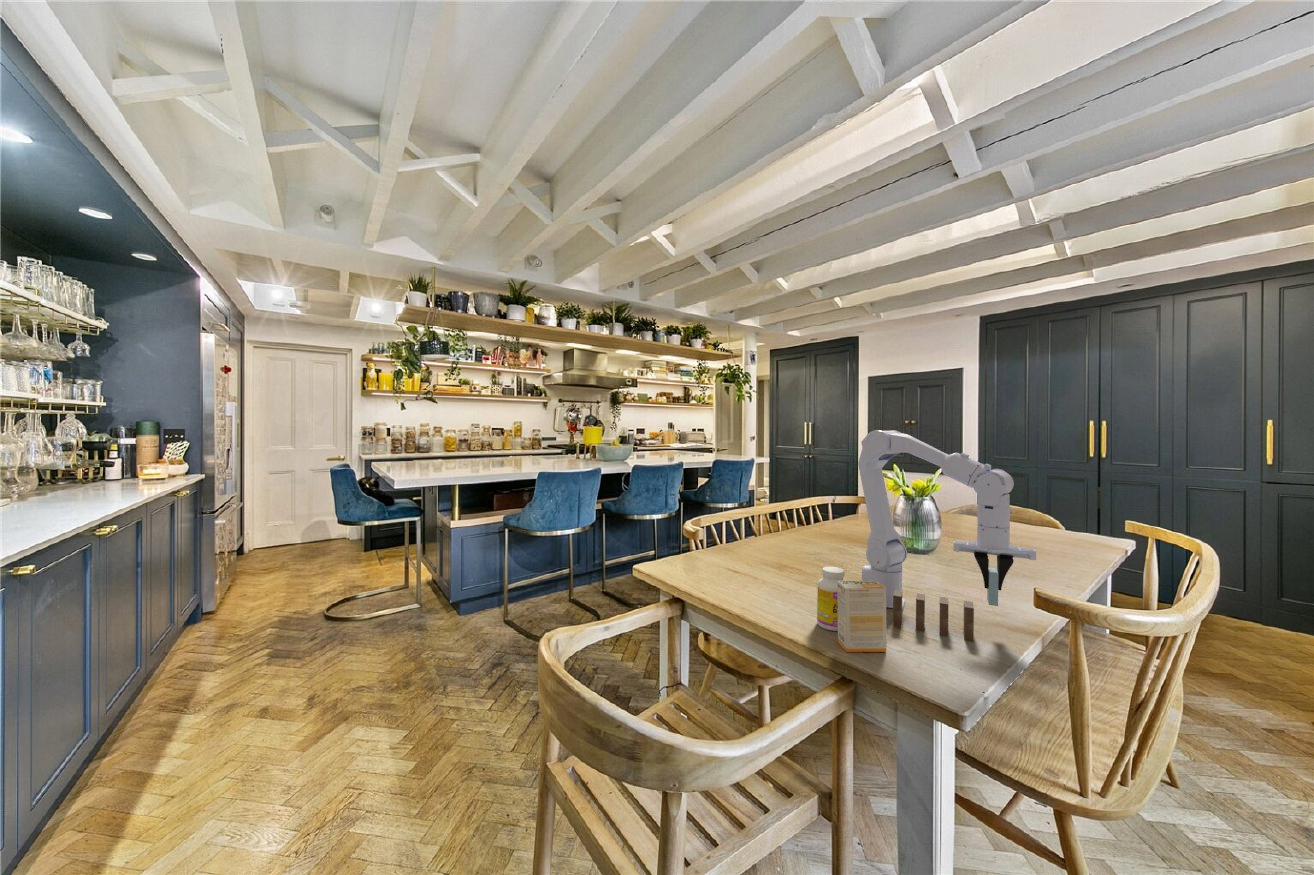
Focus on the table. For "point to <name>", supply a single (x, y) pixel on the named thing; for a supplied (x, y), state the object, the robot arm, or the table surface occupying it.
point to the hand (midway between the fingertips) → (992, 588)
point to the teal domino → (992, 587)
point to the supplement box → (862, 616)
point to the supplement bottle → (828, 598)
